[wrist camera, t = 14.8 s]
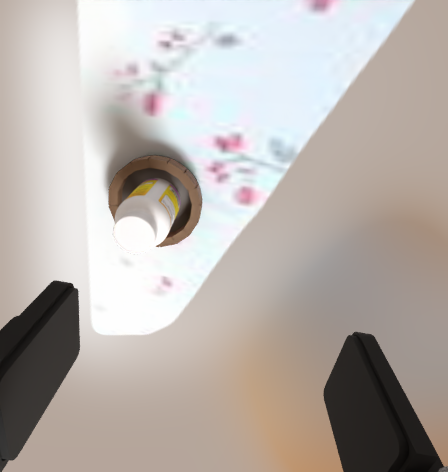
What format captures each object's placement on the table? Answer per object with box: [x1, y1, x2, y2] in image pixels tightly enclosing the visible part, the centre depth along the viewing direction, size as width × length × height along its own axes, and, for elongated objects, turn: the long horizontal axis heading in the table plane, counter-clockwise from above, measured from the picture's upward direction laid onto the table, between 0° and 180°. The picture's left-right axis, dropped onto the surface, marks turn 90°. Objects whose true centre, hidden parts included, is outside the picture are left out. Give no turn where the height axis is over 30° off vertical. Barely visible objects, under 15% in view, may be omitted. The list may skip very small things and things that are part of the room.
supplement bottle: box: [113, 178, 180, 254], centre depth 41 cm, size 7×7×13 cm
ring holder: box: [109, 155, 202, 247], centre depth 46 cm, size 13×13×3 cm
